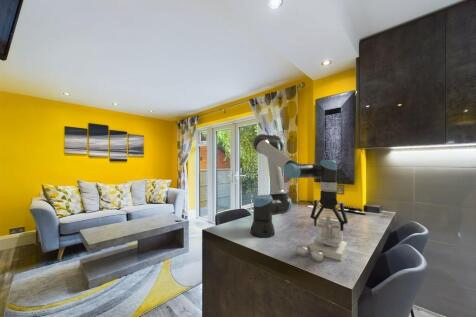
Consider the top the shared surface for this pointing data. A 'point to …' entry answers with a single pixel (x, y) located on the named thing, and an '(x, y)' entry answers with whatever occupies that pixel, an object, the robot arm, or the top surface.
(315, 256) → the cylinder
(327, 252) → the scale base
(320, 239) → the pan
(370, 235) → the top surface
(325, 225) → the cream toy jack
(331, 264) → the top surface
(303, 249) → the cylinder
